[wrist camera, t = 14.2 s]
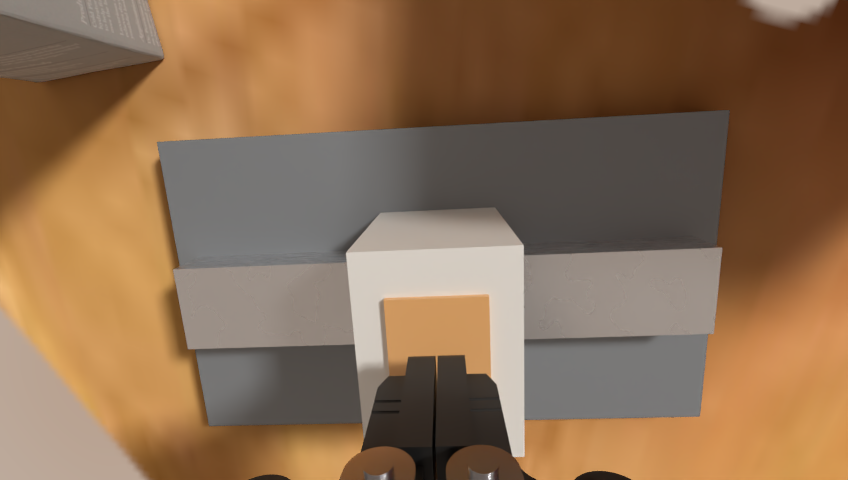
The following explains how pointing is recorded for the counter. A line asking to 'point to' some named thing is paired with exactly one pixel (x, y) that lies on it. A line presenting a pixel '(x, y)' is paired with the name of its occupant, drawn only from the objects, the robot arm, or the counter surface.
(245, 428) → the counter surface
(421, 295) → the block
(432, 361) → the robot arm
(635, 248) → the rail
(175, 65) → the counter surface
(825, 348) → the counter surface
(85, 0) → the skincare box
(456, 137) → the rail board
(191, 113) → the counter surface
